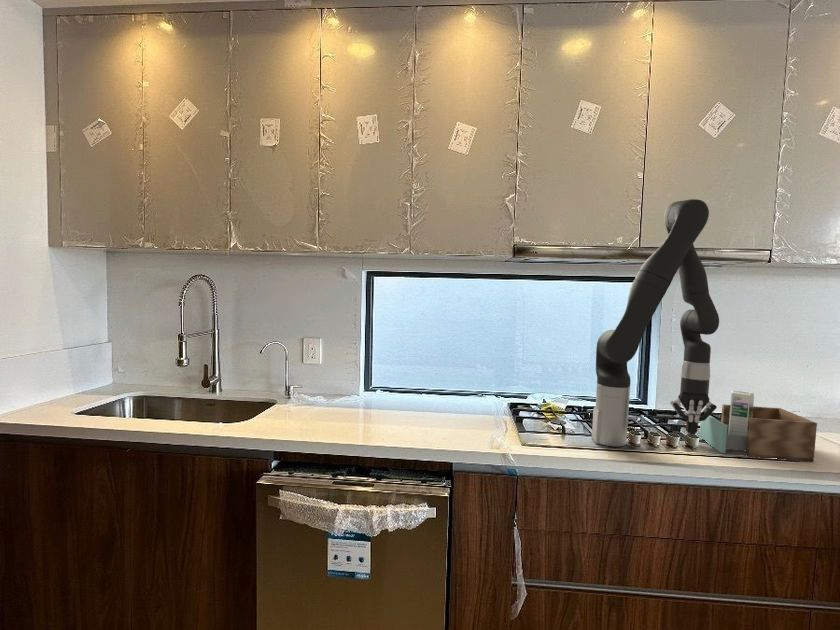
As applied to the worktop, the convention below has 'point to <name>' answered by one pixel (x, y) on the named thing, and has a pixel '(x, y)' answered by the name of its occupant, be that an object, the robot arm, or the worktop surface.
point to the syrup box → (740, 412)
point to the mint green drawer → (721, 436)
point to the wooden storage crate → (778, 434)
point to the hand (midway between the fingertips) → (691, 433)
